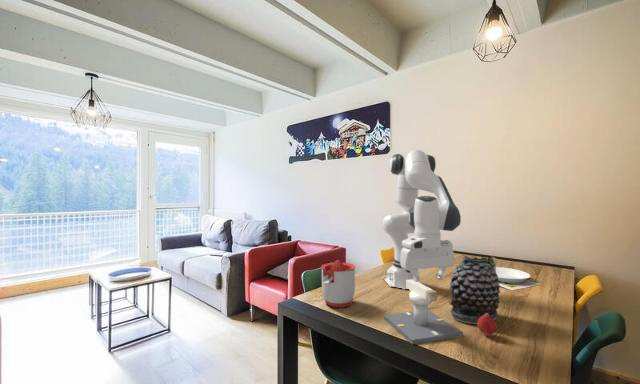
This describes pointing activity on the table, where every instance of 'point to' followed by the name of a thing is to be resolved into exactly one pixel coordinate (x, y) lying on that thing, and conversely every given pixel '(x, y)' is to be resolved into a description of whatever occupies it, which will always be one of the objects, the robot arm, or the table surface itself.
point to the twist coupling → (420, 293)
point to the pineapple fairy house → (475, 289)
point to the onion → (486, 325)
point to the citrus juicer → (338, 283)
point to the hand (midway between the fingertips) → (428, 280)
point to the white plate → (511, 275)
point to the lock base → (422, 330)
